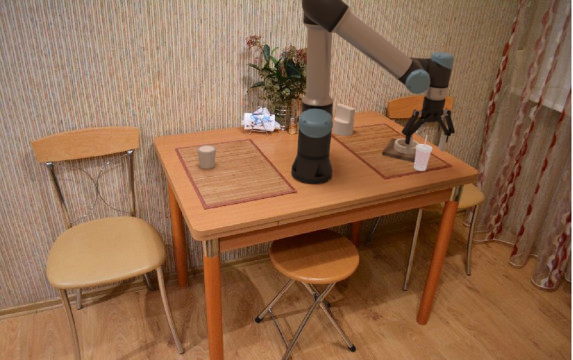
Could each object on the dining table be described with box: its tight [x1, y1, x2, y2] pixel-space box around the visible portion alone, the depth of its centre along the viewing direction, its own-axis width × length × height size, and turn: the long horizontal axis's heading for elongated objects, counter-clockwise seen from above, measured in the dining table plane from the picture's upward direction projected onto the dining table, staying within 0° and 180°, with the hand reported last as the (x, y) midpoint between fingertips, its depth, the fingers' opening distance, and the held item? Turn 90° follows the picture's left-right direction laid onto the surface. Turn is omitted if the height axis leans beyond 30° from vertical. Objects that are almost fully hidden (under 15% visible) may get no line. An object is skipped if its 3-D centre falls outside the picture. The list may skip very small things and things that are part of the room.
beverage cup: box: [413, 134, 433, 172], centre depth 171 cm, size 6×6×14 cm
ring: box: [394, 137, 420, 154], centre depth 185 cm, size 10×10×2 cm
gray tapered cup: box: [196, 144, 217, 170], centre depth 166 cm, size 7×7×7 cm
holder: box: [382, 137, 416, 163], centre depth 186 cm, size 16×16×2 cm
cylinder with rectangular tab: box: [332, 103, 356, 137], centre depth 200 cm, size 9×9×12 cm
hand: (424, 151), depth 171 cm, fingers open, 13 cm apart
